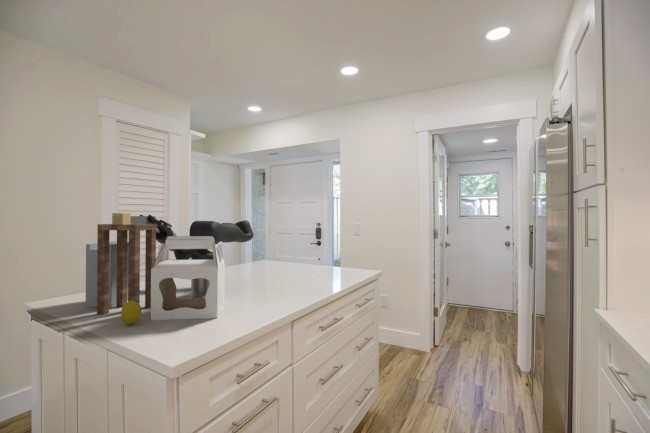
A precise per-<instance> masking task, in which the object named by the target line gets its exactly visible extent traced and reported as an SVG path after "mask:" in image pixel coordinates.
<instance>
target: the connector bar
mask: <svg viewBox="0 0 650 433" xmlns="http://www.w3.org/2000/svg"><path fill="white" fill-rule="evenodd" d="M131 214H132V213H125V212H121V213H120V212H119V213H117V212H114V213H113V212H112V214H111V216H112V217H111V224H113V225H125V224H152V223H151V222H150V221H149V220H148V219H147V218H148V215H143V216H140V215H131ZM152 216H153V217H154V218H155V219H156V215H152Z"/></svg>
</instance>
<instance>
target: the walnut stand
mask: <svg viewBox="0 0 650 433" xmlns="http://www.w3.org/2000/svg"><path fill="white" fill-rule="evenodd" d="M142 230H143V231H145V260H144V262H145V267H144V268H145V272H144V273H145V274H144V278H145V279H144V280H145V282H144V286H145V287H144V289H145V290H144V292H145V293H144V308H147V309H149V308H150V309H151V268H152V266H153V264H154V262H155V260H156V258H157V255H156V254H157V252H156V251H157V247H156V246H157V242H156V241H157V240H156V224H125V225H113V224H112V223H103V224H102V223H100V224H97V233H96V234H97V237H96V238H97V240H96V241H97V242H96V243H97V307H96V315H97V314H98V315H99V316H103V315H106V314H109V313H110V307H109V242H110V233H111V232H110V231H116V243H117V282H116V305H115V306H116V308H122V307H123V306H124V304H126V303H127V302H129V301H130V300H133V301H136V302H138V303H139V305H140V306H141V304H140V302H141V301H140V287H141V285H140V282H141V281H140V279H141V278H140V277H141V231H142ZM128 242H129V252H128V301H127V245H128Z"/></svg>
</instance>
